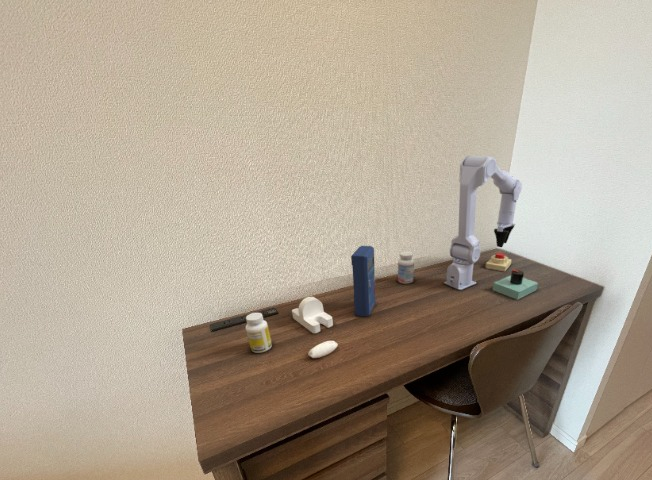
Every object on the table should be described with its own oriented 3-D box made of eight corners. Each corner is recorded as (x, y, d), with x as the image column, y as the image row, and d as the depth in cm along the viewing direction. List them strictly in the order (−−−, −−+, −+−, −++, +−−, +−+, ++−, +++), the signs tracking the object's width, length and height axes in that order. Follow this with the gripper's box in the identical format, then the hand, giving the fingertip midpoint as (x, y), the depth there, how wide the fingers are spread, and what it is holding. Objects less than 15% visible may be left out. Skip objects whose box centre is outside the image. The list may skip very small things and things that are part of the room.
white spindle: (307, 357, 82) (306, 348, 81) (333, 345, 87) (332, 336, 85) (313, 363, 80) (312, 353, 79) (340, 350, 85) (339, 341, 83)
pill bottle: (395, 279, 125) (395, 252, 120) (408, 276, 128) (409, 249, 123) (402, 285, 120) (402, 257, 115) (416, 282, 123) (417, 254, 118)
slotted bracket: (334, 325, 96) (331, 302, 92) (314, 334, 92) (310, 310, 88) (311, 310, 104) (308, 288, 101) (292, 317, 100) (288, 295, 97)
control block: (504, 271, 131) (506, 262, 129) (485, 268, 135) (486, 259, 133) (510, 264, 138) (512, 255, 137) (492, 260, 142) (493, 252, 141)
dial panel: (517, 299, 109) (519, 291, 107) (492, 290, 116) (493, 282, 114) (536, 290, 115) (538, 282, 114) (511, 281, 122) (513, 273, 121)
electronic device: (369, 317, 100) (367, 256, 91) (354, 315, 101) (350, 255, 92) (376, 303, 108) (374, 246, 99) (361, 302, 109) (358, 245, 100)
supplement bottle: (264, 339, 90) (258, 309, 85) (276, 346, 86) (269, 315, 82) (247, 348, 86) (238, 317, 81) (258, 356, 83) (250, 323, 78)
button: (502, 260, 133) (503, 256, 132) (494, 258, 135) (494, 254, 134) (505, 257, 136) (505, 253, 135) (496, 256, 137) (497, 252, 136)
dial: (524, 282, 114) (526, 271, 112) (517, 285, 111) (520, 274, 109) (514, 279, 116) (516, 268, 114) (507, 282, 114) (509, 271, 112)
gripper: (513, 216, 119) (507, 251, 125) (521, 209, 130) (515, 241, 136) (493, 214, 122) (489, 248, 128) (503, 207, 133) (498, 239, 139)
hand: (501, 244), depth 132 cm, fingers open, 6 cm apart
